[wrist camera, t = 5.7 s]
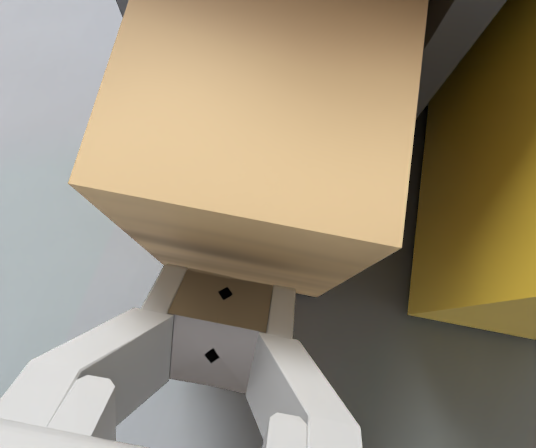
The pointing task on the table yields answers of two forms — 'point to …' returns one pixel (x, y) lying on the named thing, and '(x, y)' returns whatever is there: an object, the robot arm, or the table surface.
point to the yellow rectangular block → (482, 186)
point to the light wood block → (259, 135)
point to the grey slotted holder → (442, 39)
